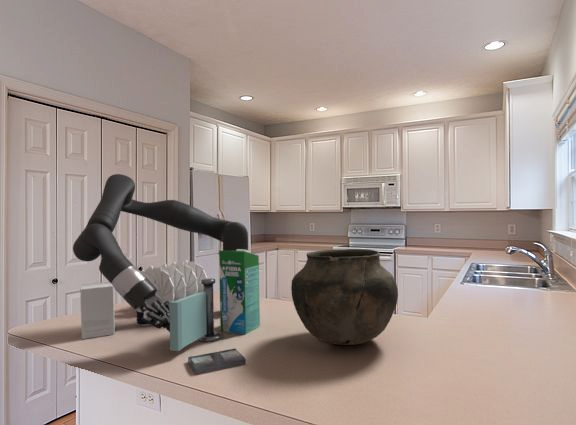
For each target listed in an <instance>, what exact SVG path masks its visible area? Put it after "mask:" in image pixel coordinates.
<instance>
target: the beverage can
mask: <svg viewBox="0 0 576 425" xmlns="http://www.w3.org/2000/svg"><path fill="white" fill-rule="evenodd" d="M143 316H144V313H143V312H141V310H140V308H138V309H136V324H137V325H138V326H139V325H140V326H139V327H149V326H148V325H150V324H148V323H146V322H144V321H142V317H143ZM150 326H151V325H150Z"/></svg>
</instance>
